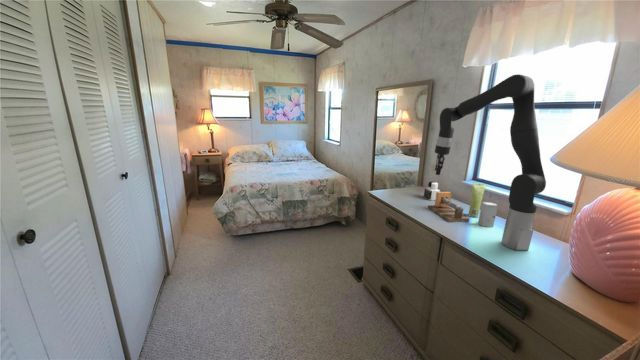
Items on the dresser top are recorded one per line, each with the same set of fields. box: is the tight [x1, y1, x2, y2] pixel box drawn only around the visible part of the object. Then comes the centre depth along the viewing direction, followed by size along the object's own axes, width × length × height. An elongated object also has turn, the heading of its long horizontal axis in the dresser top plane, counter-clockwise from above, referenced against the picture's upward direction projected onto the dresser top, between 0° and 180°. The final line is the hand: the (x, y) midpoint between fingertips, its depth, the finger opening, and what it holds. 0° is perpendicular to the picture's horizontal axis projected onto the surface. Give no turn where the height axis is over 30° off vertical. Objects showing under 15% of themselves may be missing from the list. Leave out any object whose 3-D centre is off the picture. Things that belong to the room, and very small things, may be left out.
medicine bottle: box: [423, 181, 441, 201], centre depth 178 cm, size 7×7×12 cm
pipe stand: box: [427, 197, 470, 223], centre depth 151 cm, size 22×12×9 cm, turn 7°
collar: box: [434, 191, 452, 207], centre depth 156 cm, size 2×8×8 cm, turn 97°
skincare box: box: [477, 201, 498, 228], centre depth 137 cm, size 6×4×12 cm
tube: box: [467, 183, 487, 218], centre depth 148 cm, size 6×5×20 cm
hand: (437, 172), depth 148 cm, fingers open, 8 cm apart
